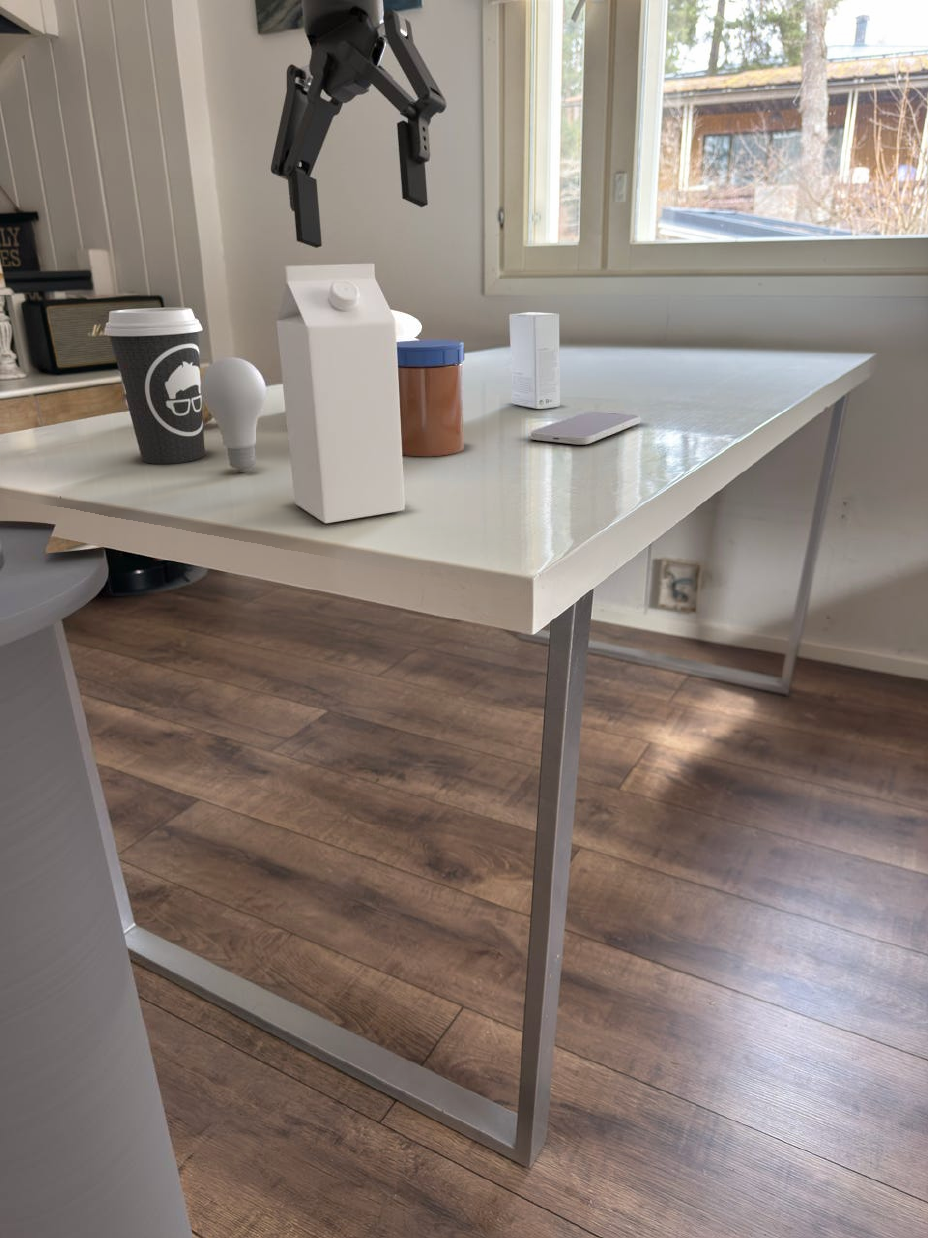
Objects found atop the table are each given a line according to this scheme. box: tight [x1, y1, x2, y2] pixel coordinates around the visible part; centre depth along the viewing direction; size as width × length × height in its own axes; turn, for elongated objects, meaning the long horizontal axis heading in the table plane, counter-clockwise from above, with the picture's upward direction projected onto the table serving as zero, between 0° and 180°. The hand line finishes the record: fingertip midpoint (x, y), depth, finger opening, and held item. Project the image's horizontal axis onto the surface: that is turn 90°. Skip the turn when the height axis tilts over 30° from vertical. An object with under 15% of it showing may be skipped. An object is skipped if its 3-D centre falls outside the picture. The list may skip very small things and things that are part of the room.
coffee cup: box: [103, 307, 206, 465], centre depth 90 cm, size 10×10×15 cm
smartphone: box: [530, 410, 641, 445], centre depth 100 cm, size 7×1×15 cm
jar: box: [398, 362, 465, 458], centre depth 92 cm, size 8×8×11 cm
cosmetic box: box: [508, 311, 561, 410], centre depth 116 cm, size 6×4×12 cm
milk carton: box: [276, 263, 406, 524], centre depth 69 cm, size 7×7×19 cm
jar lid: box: [397, 339, 465, 366], centre depth 90 cm, size 8×8×2 cm
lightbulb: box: [200, 356, 267, 473], centre depth 84 cm, size 6×6×11 cm
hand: (359, 223), depth 82 cm, fingers open, 13 cm apart
